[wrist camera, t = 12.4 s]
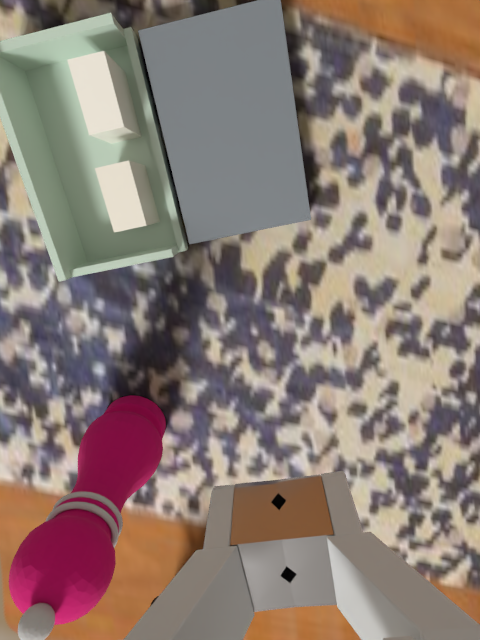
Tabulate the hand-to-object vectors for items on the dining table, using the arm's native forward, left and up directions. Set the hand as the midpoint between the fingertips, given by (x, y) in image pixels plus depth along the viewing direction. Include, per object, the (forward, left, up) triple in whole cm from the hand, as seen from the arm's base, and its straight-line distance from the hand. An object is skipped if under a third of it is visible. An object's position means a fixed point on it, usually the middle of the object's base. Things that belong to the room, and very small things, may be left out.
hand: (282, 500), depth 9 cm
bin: (+10, -11, -26) cm, 30 cm away
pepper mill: (+15, +13, -26) cm, 33 cm away
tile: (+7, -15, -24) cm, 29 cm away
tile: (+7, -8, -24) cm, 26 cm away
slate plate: (0, -11, -26) cm, 29 cm away
